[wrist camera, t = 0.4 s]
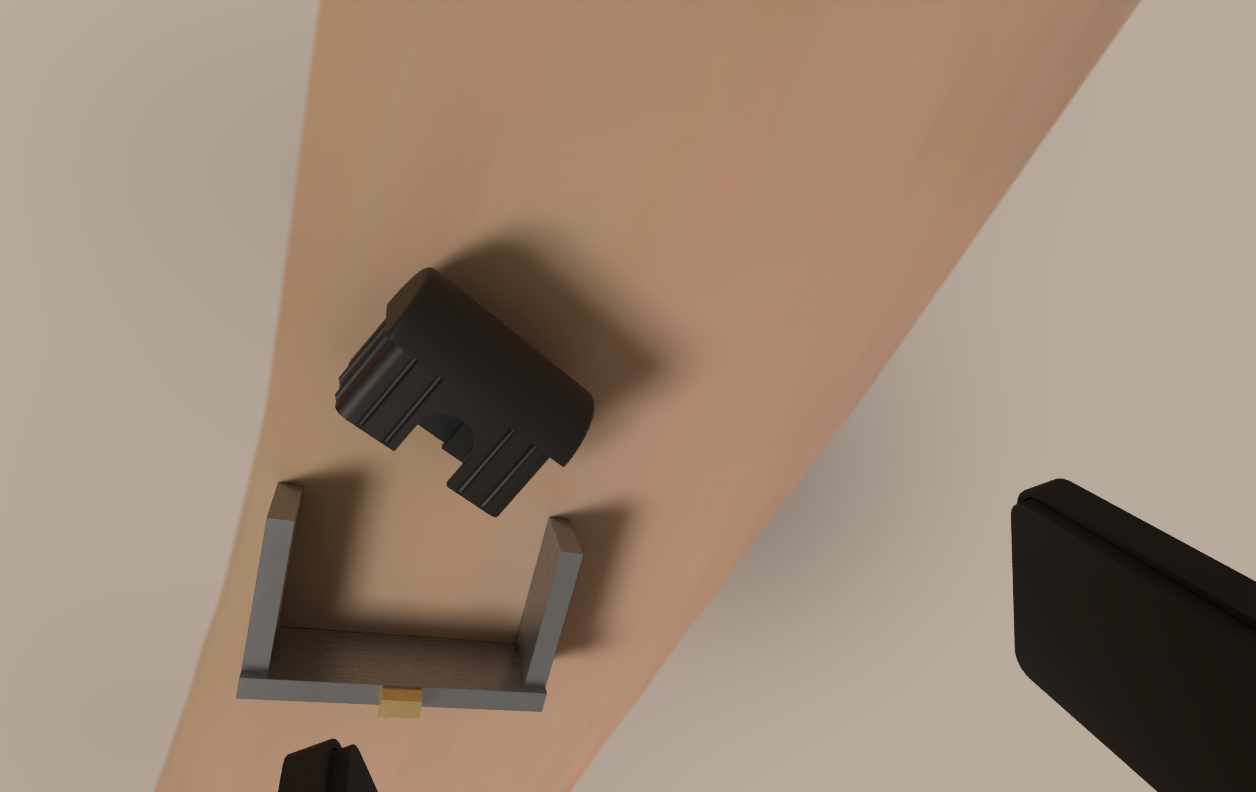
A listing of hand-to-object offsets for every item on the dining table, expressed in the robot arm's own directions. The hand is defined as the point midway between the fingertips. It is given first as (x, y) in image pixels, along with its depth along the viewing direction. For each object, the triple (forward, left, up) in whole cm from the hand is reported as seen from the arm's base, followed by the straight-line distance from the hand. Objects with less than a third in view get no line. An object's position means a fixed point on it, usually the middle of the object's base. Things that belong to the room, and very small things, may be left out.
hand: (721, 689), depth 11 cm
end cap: (+5, 0, -32) cm, 32 cm away
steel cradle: (+18, 0, -32) cm, 36 cm away
